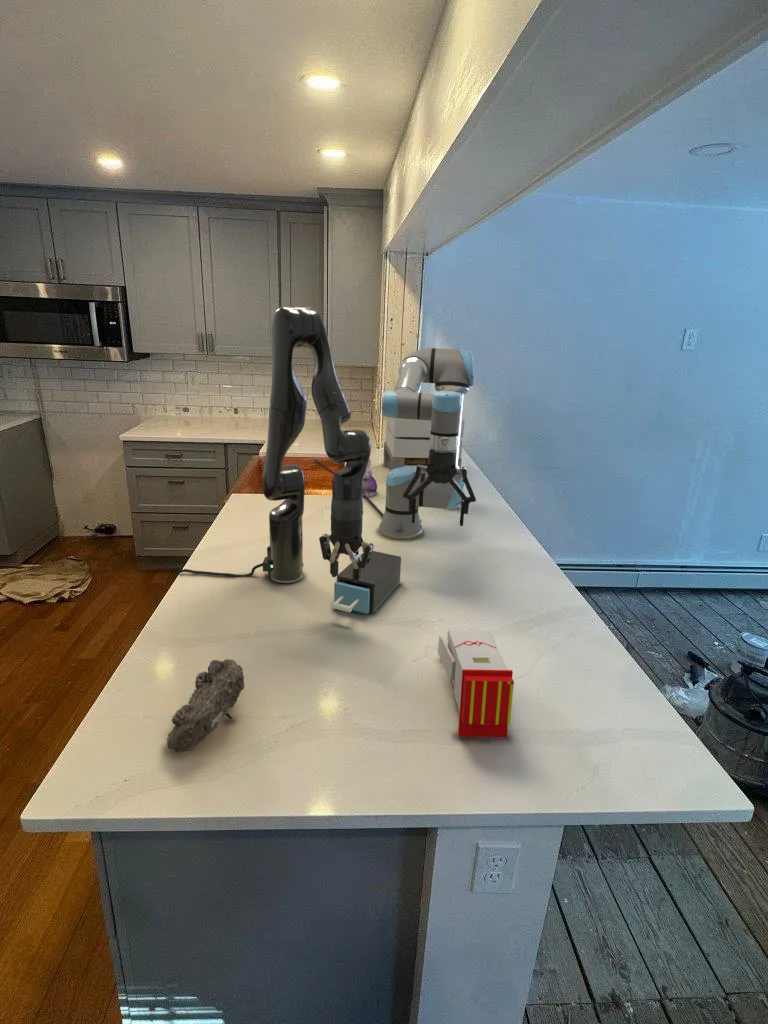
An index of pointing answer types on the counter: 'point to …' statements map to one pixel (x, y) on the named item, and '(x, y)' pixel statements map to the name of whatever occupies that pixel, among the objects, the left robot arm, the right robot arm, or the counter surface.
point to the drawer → (351, 597)
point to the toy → (478, 682)
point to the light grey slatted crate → (410, 442)
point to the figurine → (368, 482)
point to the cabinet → (376, 576)
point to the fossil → (206, 705)
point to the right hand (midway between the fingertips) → (437, 523)
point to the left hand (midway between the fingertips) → (345, 578)
